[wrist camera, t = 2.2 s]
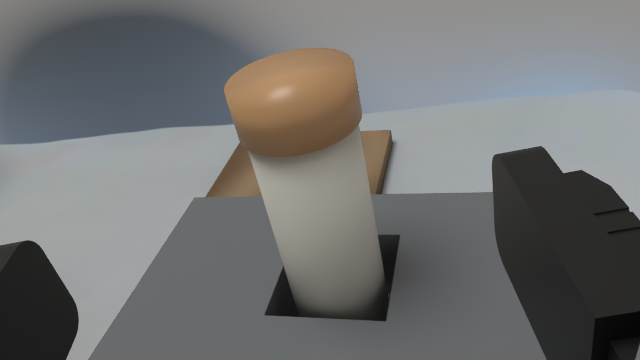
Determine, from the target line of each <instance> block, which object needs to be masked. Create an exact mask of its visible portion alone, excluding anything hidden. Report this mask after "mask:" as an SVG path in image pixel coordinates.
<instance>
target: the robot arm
mask: <svg viewBox="0 0 640 360" xmlns="http://www.w3.org/2000/svg"><path fill="white" fill-rule="evenodd" d="M492 178H493V204H494V228H495V237H496V242H497V247H498V251H499V254H500V258H501V260H502V263H503V265H504V268H505V270H506V272H507V274H508V276H509V279H510V281H511V283H512V285H513V287H514V290H515V292H516V294H517V296H518V298H519V301H520V303H521V305H522V307H523V309H524V311H525V314H526V316H527V318H528V320H529V322H530V325H531V327H532V329H533V331H534V333H535V335H536V338H537V340H538V342H539V344H540V346H541V349H542V351H543V353H544V355H545V357H546V360H640V220H639V219H638V218H637V217H636V215H635V214H634V213H633V212H630V211H629V207H628V206H627V205H626V204H625V202H624V201H623V200H622V199H621V198H620V197H619V195H618V194H617V193H616V192H615V191H614V189H613V188H612V187H611V186H610V185H608V184H606V183H604V182H602V181H601V180H599V179H597V178H595V177H593V176H592V175H590V174H588V173H586V172H584V171H582V170H579V171H574V172H568V173H563V172H562V171H561V170H560V168H559V167H558V166H557V164H556V163H555V162H554V160H553V159H552V158H551V156H550V155H549V154H548V152H547V151H546V150H545V149H544V148H543V147H541V146H539V147H533V148H528V149H523V150H517V151H512V152H506V153H501V154H496V155H494V157H493V160H492ZM78 321H79V319H78V311H77V307H76V304H75V302H74V300H73V298H72V296H71V295H70V293H69V292H68V290H67V288H66V287H65V285H64V284H63V282H62V280H61V279H60V277H59V276H58V274H57V272H56V271H55V269H54V267H53V266H52V264H51V263H50V261H49V259H48V258H47V256H46V255H45V253H44V251H43V250H42V249H41V247H40V246H39V245H38V244H37V243H35V242H33V241H29V240H28V241H22V242H17V243H11V244H6V245H0V360H66V358H67V356H68V353H69V351H70V349H71V346H72V344H73V342H74V339H75V337H76V334H77V331H78Z"/></svg>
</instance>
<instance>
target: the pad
mask: <svg viewBox="0 0 640 360" xmlns="http://www.w3.org/2000/svg"><path fill="white" fill-rule="evenodd" d="M360 135H361V141H362V147H363V152H364V158H365V164H366V170H367V176H368V181H369V187H370V193H371V194H380V193H381V189H382V185H383V180H384V176H385V171H386V167H387V163H388V158H389V154H390V149H391V145H392V135H391V130H379V131H360ZM258 196H262V194H261V191H260V188H259V184H258V181H257V178H256V175H255V171H254V168H253V165H252V162H251V158H250V155H249V152H248V150H247V149H245V148H244V147H243V146H242V145H241V143H239V145H238V146H237V148H236V150H235V151H234V153H233V154H232V156H231V157H230V159H229V161H228V162H227V164H226V165H225V167H224V169H223V170H222V172H221V173H220V175H219V176H218V178H217V180H216V181H215V183H214V184H213V186H212V188H211V189H210V191H209V192H208V194H207V195H206V197H258Z"/></svg>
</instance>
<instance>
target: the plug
mask: <svg viewBox="0 0 640 360" xmlns="http://www.w3.org/2000/svg"><path fill="white" fill-rule="evenodd" d="M224 92H225V96H226V99H227V103H228V106H229V109H230V112H231V115H232V118H233V121H234V125H235V128H236V131H237V134H238V138H239V141H240V143H241V145H242V146H243V147H244V148H245V149H247V150H248V152H249V155H250V158H251V162H252V165H253V168H254V171H255V175H256V178H257V181H258V184H259V188H260V191H261V194H262V197H263V201H264V204H265V207H266V210H267V214H268V217H269V220H270V223H271V227H272V230H273V233H274V236H275V240H276V243H277V246H278V249H279V253H280V256H281V259H282V262H283V266H284V269H285V272H286V275H287V279H288V282H289V285H290V288H291V292H292V295H293V298H294V302H295V305H296V308H297V311H298V315H299V317H307V318H328V319H348V320H369V321H386V319H387V313H388V307H389V298H388V292H387V286H386V280H385V275H384V269H383V263H382V257H381V251H380V245H379V240H378V234H377V228H376V222H375V216H374V211H373V205H372V199H371V193H370V187H369V181H368V176H367V170H366V164H365V158H364V152H363V147H362V141H361V135H360V129H359V123H360V121H361V118H362V110H361V104H360V98H359V91H358V86H357V79H356V74H355V67H354V62H353V60H352V58H351V57H350V56H349V55H348V54H346V53H344V52H342V51H339V50H335V49H328V48H305V49H298V50H291V51H286V52H282V53H278V54H274V55H271V56H268V57H265V58H262V59H260V60H258V61H255V62H253V63H251V64H249V65H247V66H245V67H244V68H242V69H240V70H239V71H237V72H236V73H235V74H234V75H233V76H232V77H231V78H230V79H229V80H228V81H227V83H226V85H225V87H224Z"/></svg>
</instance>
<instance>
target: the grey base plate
mask: <svg viewBox="0 0 640 360" xmlns="http://www.w3.org/2000/svg"><path fill="white" fill-rule="evenodd" d="M371 199H372V205H373V211H374V216H375V222H376V228H377V234H378V240H379V245H380V251H381V257H382V263H383V269H384V275H385V280H386V286H387V292H391V295H390V301H389V307H388V313H387V319H386V321H369V320H348V319H328V318H307V317H299V315H298V311H297V308H296V305H295V302H294V298H293V295H292V292H291V288H290V285H289V282H288V279H287V275H286V272H285V269H284V266H283V262H282V259H281V256H280V253H279V249H278V246H277V243H276V240H275V236H274V233H273V230H272V227H271V223H270V220H269V217H268V214H267V210H266V207H265V204H264V201H263V197H262V196H258V197H202V198H194V199H193V201H192V202H191V204H190V205H189V207H188V208H187V210H186V211H185V213H184V214H183V216H182V217H181V219H180V220H179V222H178V224H177V225H176V227H175V228H174V230H173V231H172V233H171V234H170V236H169V237H168V239H167V240H166V242H165V243H164V245H163V246H162V248H161V249H160V251H159V252H158V254H157V256H156V257H155V259H154V260H153V262H152V263H151V265H150V266H149V268H148V269H147V271H146V272H145V274H144V275H143V277H142V278H141V280H140V281H139V283H138V284H137V286H136V288H135V289H134V291H133V292H132V294H131V295H130V297H129V298H128V300H127V301H126V303H125V304H124V306H123V307H122V309H121V310H120V312H119V313H118V315H117V316H116V318H115V320H114V321H113V323H112V324H111V326H110V327H109V329H108V330H107V332H106V333H105V335H104V336H103V338H102V339H101V341H100V342H99V344H98V345H97V347H96V348H95V350H94V352H93V353H92V355H91V356H90V358H89V359H88V360H546V357H545V355H544V353H543V351H542V349H541V346H540V344H539V342H538V340H537V338H536V335H535V333H534V331H533V329H532V327H531V325H530V322H529V320H528V318H527V316H526V314H525V311H524V309H523V307H522V305H521V303H520V301H519V298H518V296H517V294H516V292H515V290H514V287H513V285H512V283H511V281H510V279H509V276H508V274H507V272H506V270H505V268H504V265H503V263H502V260H501V258H500V254H499V251H498V247H497V242H496V237H495V228H494V204H493V192H482V193H426V194H371Z"/></svg>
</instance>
